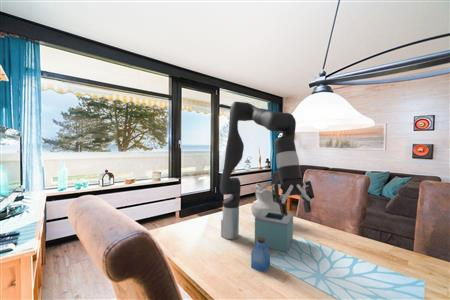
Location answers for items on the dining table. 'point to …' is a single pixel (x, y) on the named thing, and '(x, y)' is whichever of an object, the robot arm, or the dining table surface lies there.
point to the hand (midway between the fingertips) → (296, 214)
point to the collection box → (274, 229)
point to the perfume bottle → (260, 255)
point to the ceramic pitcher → (263, 201)
